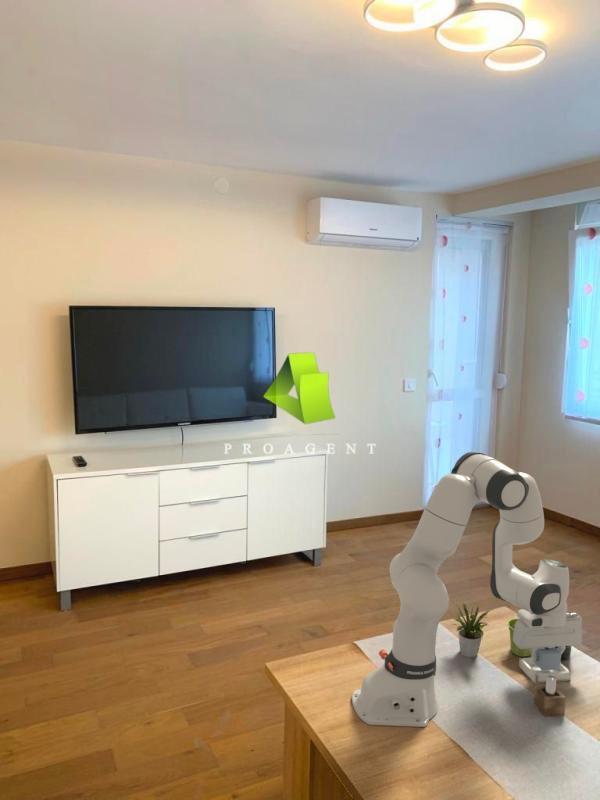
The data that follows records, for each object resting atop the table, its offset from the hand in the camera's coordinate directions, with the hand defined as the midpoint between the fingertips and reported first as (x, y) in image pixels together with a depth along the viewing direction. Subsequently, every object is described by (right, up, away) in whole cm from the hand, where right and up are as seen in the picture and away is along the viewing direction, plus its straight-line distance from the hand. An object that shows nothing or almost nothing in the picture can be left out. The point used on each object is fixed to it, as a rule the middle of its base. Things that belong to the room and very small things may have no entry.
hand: (545, 659), depth 184 cm
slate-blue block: (0, -2, 0) cm, 2 cm away
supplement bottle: (+8, -4, +11) cm, 14 cm away
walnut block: (-6, -7, -16) cm, 19 cm away
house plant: (-21, -3, +11) cm, 24 cm away
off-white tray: (0, -4, +1) cm, 4 cm away
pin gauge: (-6, -7, -17) cm, 19 cm away
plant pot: (-3, -3, +12) cm, 13 cm away
